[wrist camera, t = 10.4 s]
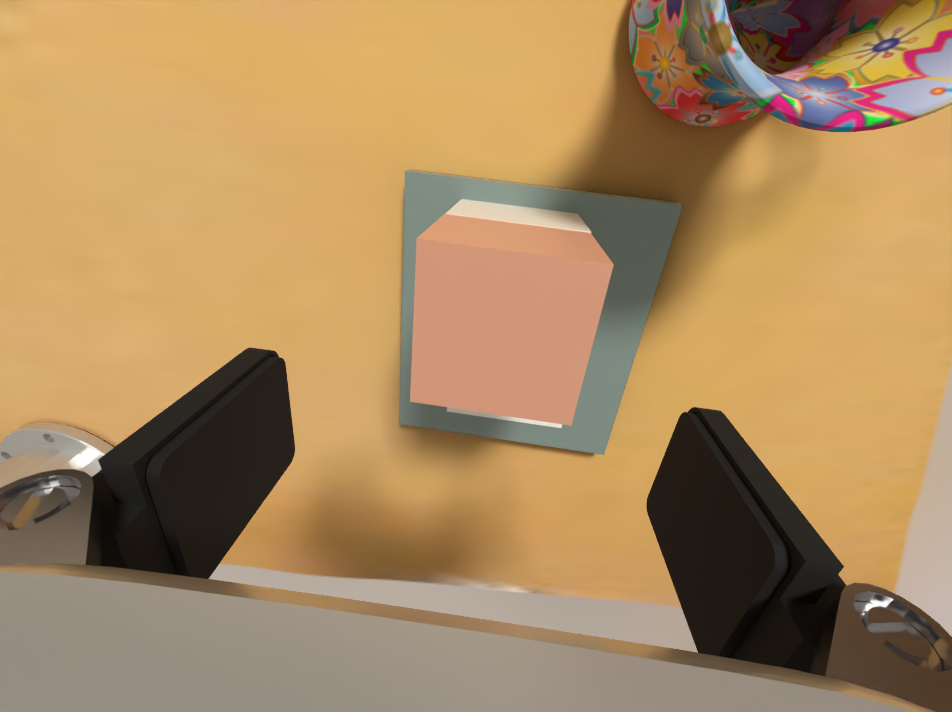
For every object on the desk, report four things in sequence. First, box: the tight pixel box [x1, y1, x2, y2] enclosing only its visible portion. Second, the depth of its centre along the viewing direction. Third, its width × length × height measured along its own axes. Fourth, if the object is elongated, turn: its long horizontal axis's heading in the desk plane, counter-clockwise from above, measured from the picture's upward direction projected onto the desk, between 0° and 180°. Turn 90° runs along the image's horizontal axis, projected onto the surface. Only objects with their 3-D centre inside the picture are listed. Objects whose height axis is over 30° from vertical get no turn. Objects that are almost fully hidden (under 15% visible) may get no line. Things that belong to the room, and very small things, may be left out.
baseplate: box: [399, 170, 683, 455], centre depth 23 cm, size 16×14×7 cm
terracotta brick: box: [410, 214, 614, 426], centre depth 16 cm, size 6×6×5 cm
